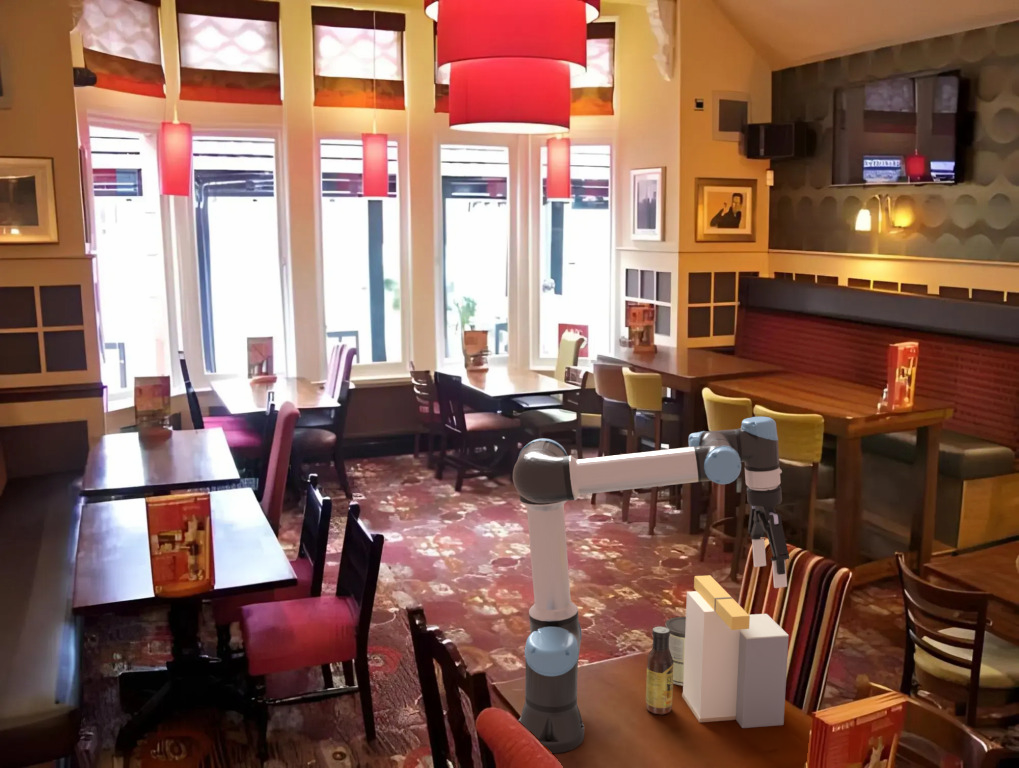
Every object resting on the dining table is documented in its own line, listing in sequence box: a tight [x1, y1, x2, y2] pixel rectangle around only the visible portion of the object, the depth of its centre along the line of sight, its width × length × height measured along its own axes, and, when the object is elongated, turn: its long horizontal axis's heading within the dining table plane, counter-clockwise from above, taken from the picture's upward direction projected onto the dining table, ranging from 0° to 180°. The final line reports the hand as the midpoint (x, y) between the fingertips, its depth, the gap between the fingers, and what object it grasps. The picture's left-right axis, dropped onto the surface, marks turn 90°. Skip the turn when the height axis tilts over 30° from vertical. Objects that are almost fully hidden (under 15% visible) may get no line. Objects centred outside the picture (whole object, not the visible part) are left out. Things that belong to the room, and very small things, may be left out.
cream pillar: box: [681, 590, 741, 723], centre depth 218 cm, size 12×9×27 cm
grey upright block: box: [736, 613, 790, 729], centre depth 216 cm, size 12×10×22 cm
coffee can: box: [664, 616, 686, 687], centre depth 234 cm, size 10×10×14 cm
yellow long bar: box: [693, 574, 750, 630], centre depth 212 cm, size 24×4×3 cm, turn 8°
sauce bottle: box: [645, 626, 674, 715], centre depth 218 cm, size 6×6×20 cm
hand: (770, 576), depth 210 cm, fingers open, 13 cm apart
